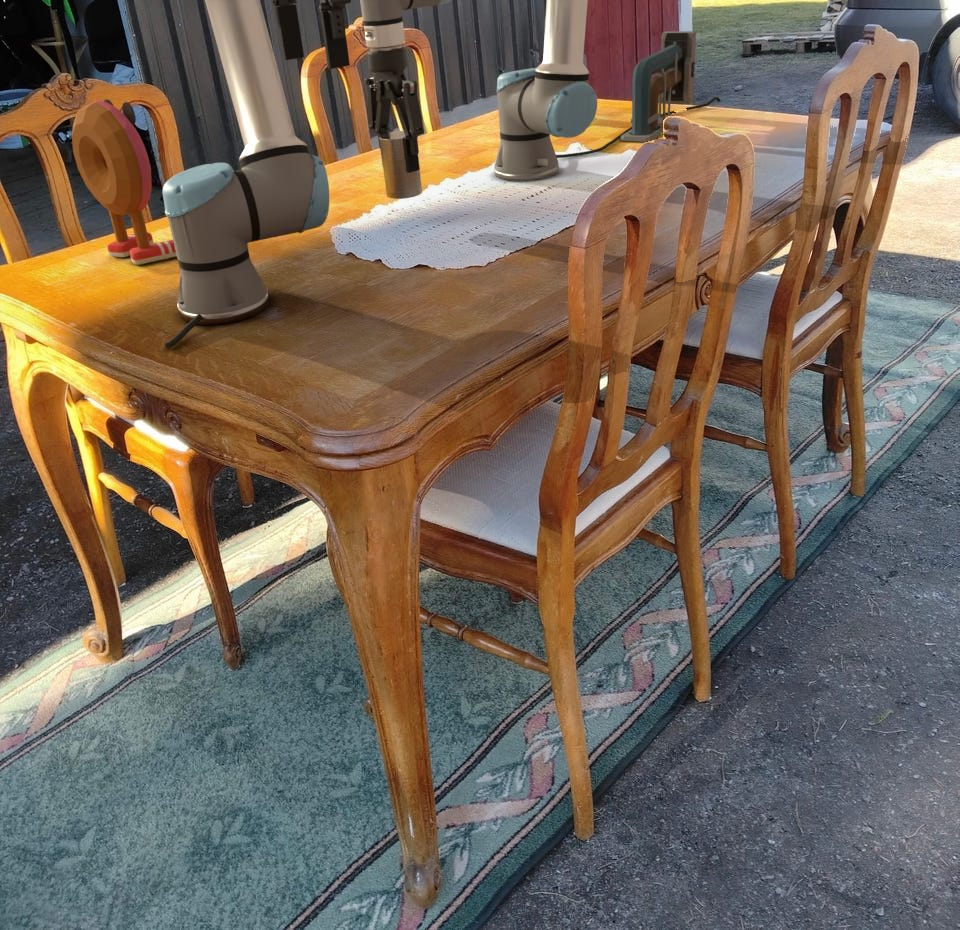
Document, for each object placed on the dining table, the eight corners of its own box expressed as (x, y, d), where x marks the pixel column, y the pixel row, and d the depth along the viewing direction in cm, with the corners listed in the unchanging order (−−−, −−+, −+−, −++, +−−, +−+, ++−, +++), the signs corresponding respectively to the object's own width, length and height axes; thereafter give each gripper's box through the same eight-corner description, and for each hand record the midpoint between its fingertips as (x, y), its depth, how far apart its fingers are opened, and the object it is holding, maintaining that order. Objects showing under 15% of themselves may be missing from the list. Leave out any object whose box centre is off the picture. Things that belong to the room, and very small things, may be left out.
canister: (393, 188, 203) (386, 131, 197) (426, 188, 202) (420, 130, 195) (382, 199, 197) (373, 139, 191) (416, 198, 196) (408, 138, 189)
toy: (194, 256, 192) (157, 98, 177) (148, 271, 186) (106, 109, 171) (139, 239, 206) (100, 90, 190) (95, 253, 199) (51, 100, 184)
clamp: (649, 141, 247) (651, 52, 236) (617, 140, 251) (617, 52, 240) (692, 113, 273) (695, 31, 262) (663, 112, 277) (664, 31, 266)
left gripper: (363, -137, 108) (386, 66, 119) (274, -123, 126) (301, 51, 137) (302, -133, 105) (332, 75, 116) (220, -120, 123) (252, 59, 134)
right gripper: (339, 48, 190) (357, 166, 201) (403, 53, 176) (418, 179, 188) (370, 42, 194) (385, 158, 206) (434, 46, 180) (447, 170, 192)
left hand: (315, 63), depth 126 cm, fingers open, 13 cm apart
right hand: (401, 168), depth 197 cm, fingers closed on canister, 7 cm apart
